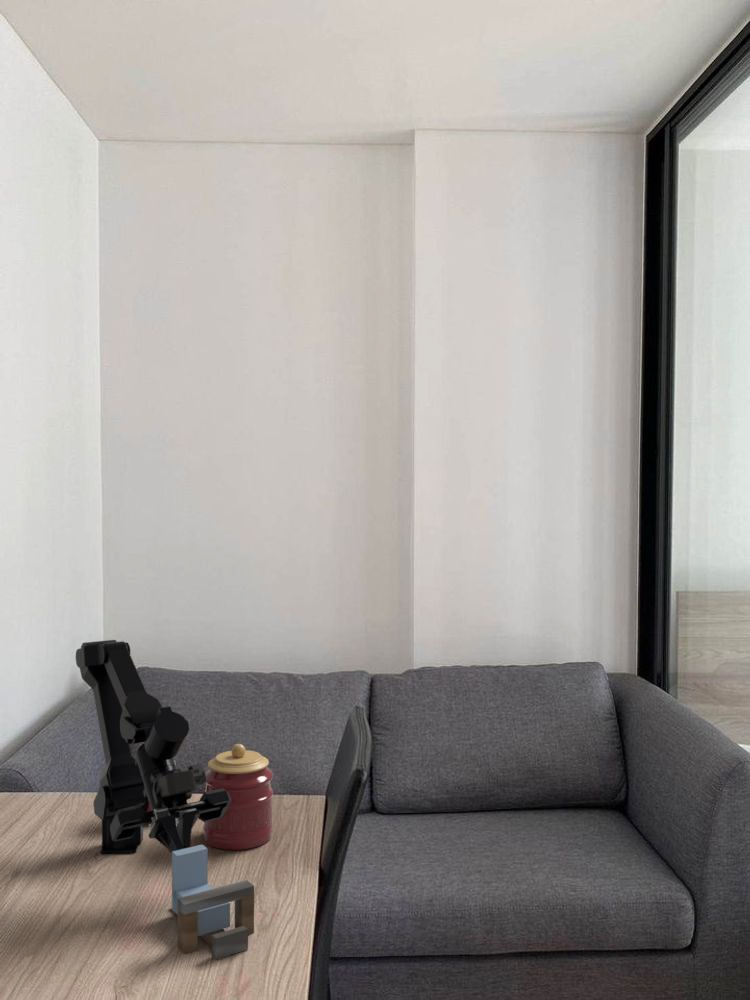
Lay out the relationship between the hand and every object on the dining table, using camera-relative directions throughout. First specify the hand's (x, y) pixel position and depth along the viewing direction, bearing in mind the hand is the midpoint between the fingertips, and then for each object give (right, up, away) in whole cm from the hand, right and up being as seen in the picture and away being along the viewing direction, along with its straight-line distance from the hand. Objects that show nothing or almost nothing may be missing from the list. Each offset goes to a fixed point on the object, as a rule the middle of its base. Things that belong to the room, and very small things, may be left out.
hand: (186, 863), depth 144 cm
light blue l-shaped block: (+3, -7, -4) cm, 8 cm away
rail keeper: (+4, -7, -6) cm, 10 cm away
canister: (+4, -7, +30) cm, 31 cm away
